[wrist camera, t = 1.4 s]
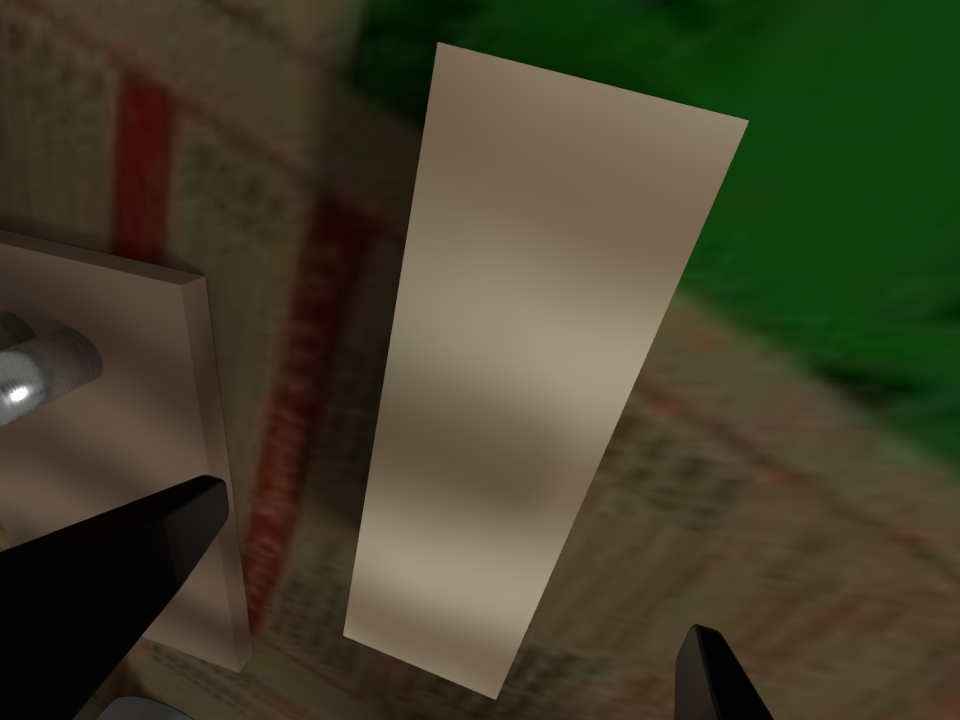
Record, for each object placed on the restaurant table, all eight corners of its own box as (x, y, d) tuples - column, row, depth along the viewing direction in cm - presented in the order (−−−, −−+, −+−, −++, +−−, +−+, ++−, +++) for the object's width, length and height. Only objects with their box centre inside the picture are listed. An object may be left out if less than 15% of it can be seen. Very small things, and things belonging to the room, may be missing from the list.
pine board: (521, 590, 19) (496, 700, 15) (394, 541, 19) (343, 635, 16) (711, 119, 11) (748, 120, 8) (494, 63, 12) (437, 42, 8)
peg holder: (252, 653, 25) (190, 742, 21) (50, 578, 27) (-37, 648, 23) (205, 276, 16) (86, 320, 12) (-89, 209, 18) (-261, 231, 15)
